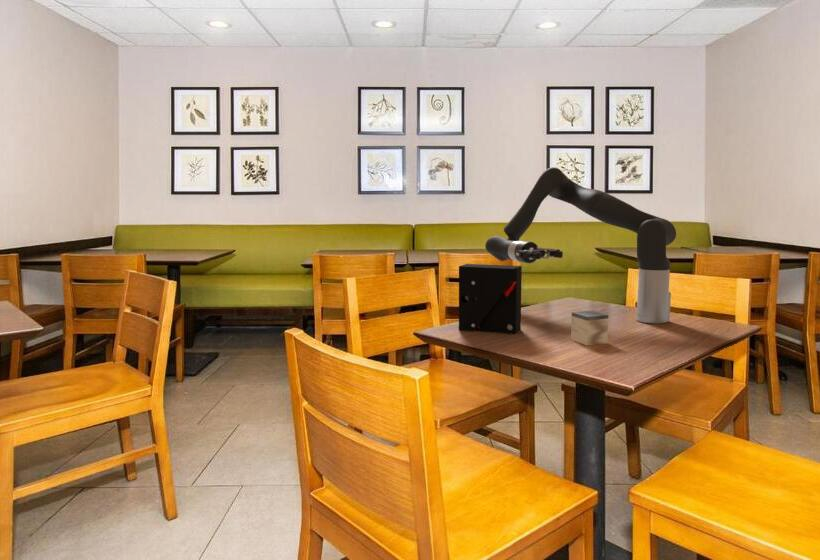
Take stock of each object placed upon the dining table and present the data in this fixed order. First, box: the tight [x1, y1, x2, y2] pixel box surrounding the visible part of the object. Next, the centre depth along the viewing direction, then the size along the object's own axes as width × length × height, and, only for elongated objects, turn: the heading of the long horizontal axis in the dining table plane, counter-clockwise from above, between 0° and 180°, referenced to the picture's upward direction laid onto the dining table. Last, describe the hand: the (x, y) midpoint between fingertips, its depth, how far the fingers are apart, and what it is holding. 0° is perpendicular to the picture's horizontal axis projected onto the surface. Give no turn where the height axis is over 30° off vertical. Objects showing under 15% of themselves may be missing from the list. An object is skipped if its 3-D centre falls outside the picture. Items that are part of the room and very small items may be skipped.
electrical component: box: [458, 263, 523, 335], centre depth 170 cm, size 18×10×20 cm, turn 65°
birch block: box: [570, 310, 609, 346], centre depth 155 cm, size 7×7×8 cm
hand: (550, 255), depth 180 cm, fingers open, 8 cm apart
